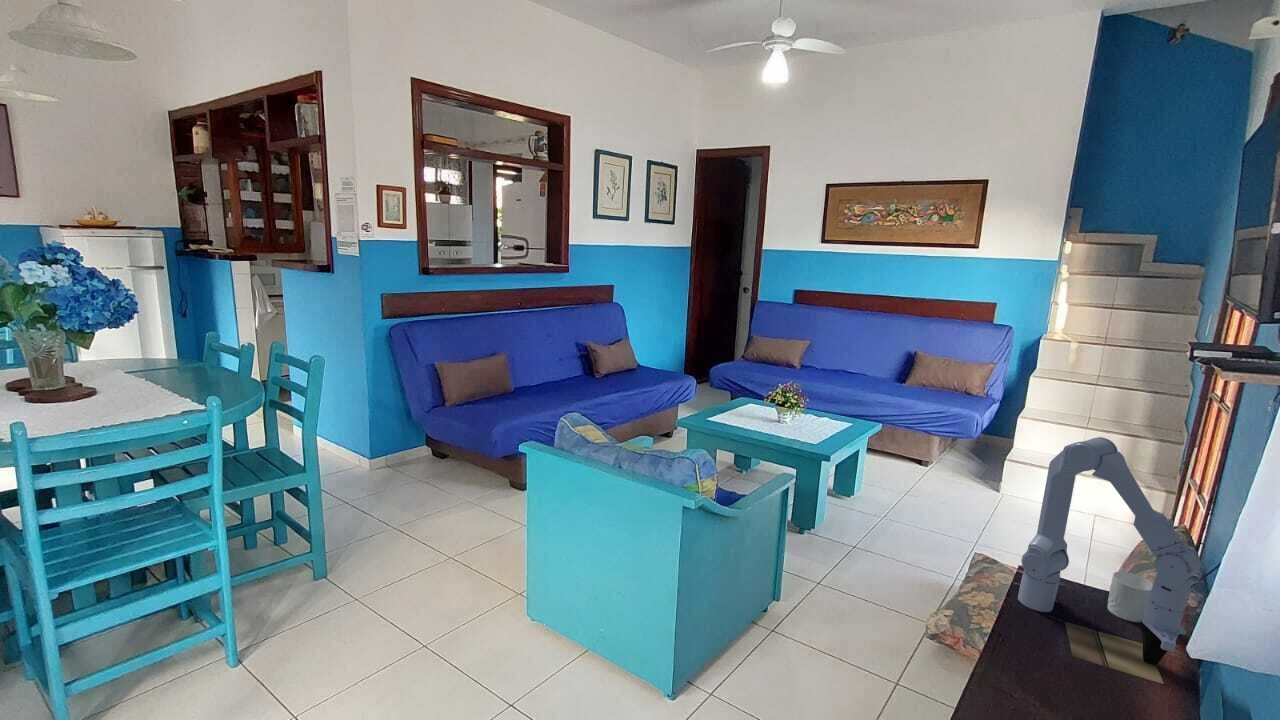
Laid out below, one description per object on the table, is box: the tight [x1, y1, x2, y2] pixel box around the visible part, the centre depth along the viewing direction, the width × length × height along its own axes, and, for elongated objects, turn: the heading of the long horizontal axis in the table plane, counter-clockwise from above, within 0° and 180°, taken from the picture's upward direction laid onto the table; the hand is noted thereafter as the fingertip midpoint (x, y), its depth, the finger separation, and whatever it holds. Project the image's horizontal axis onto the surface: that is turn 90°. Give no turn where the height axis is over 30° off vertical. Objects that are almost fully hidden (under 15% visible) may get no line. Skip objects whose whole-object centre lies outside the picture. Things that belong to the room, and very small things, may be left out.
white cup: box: [1107, 571, 1153, 623], centre depth 151 cm, size 8×8×10 cm
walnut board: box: [1064, 621, 1108, 668], centre depth 139 cm, size 14×6×2 cm, turn 153°
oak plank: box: [1097, 631, 1165, 686], centre depth 135 cm, size 14×9×2 cm, turn 153°
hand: (1149, 662), depth 134 cm, fingers closed, pressing on oak plank
